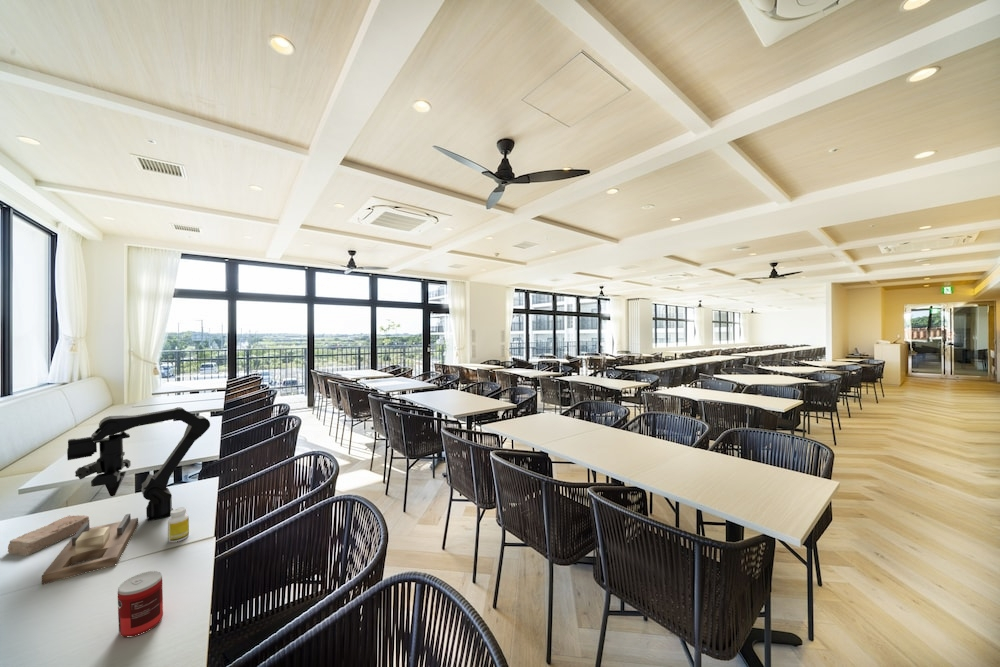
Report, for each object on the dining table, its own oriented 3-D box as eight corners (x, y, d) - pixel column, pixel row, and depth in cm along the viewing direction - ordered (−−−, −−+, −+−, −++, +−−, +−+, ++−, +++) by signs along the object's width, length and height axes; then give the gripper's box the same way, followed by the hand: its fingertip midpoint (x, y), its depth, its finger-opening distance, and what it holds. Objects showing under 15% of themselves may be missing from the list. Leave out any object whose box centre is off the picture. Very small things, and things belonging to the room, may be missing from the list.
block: (109, 538, 122) (109, 526, 122) (103, 547, 117) (103, 534, 117) (83, 544, 119) (82, 532, 119) (76, 554, 114) (75, 541, 114)
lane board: (138, 524, 136) (137, 510, 135) (116, 564, 113) (116, 548, 113) (78, 538, 127) (77, 523, 127) (41, 584, 104) (41, 567, 104)
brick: (28, 556, 118) (28, 541, 117) (5, 554, 118) (5, 540, 118) (91, 528, 134) (90, 515, 134) (70, 526, 135) (70, 514, 135)
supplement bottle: (192, 536, 128) (191, 508, 128) (173, 544, 123) (172, 515, 123) (183, 532, 130) (183, 504, 130) (164, 540, 125) (163, 512, 125)
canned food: (138, 614, 94) (136, 571, 93) (171, 612, 94) (170, 569, 94) (108, 640, 86) (107, 593, 86) (145, 637, 87) (144, 591, 86)
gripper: (87, 449, 135) (89, 491, 135) (67, 465, 120) (69, 513, 120) (130, 443, 141) (131, 484, 142) (116, 458, 126) (117, 503, 126)
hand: (112, 495), depth 132 cm, fingers closed
